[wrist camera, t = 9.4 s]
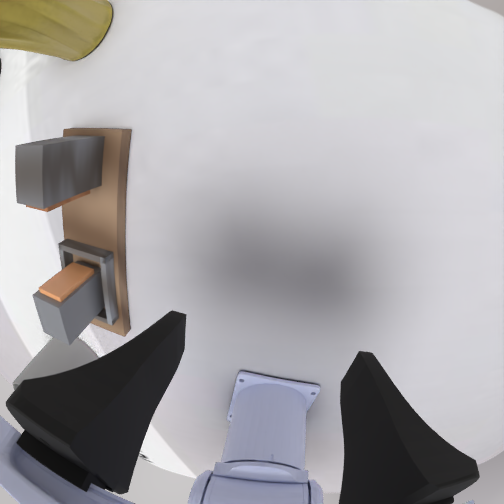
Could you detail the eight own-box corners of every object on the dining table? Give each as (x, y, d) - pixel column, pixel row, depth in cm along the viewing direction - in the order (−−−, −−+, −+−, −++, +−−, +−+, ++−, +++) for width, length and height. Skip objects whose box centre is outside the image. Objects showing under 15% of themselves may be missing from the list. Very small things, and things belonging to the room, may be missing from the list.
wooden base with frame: (130, 329, 24) (93, 380, 18) (83, 310, 25) (43, 353, 18) (131, 129, 17) (60, 136, 10) (73, 128, 17) (5, 138, 11)
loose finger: (107, 303, 22) (69, 345, 17) (82, 294, 22) (44, 331, 17) (103, 264, 20) (57, 303, 15) (77, 256, 20) (31, 290, 15)
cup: (109, 388, 30) (76, 443, 21) (64, 364, 31) (28, 411, 22) (99, 346, 27) (53, 408, 18) (49, 321, 27) (3, 370, 18)
